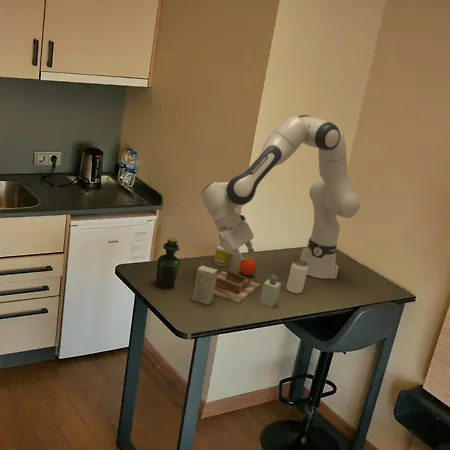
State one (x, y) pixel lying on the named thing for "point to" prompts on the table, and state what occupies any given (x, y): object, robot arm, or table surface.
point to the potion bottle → (168, 265)
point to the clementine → (247, 266)
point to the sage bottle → (270, 291)
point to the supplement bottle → (221, 256)
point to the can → (297, 276)
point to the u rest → (233, 286)
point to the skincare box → (205, 285)
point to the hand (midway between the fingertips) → (247, 256)
